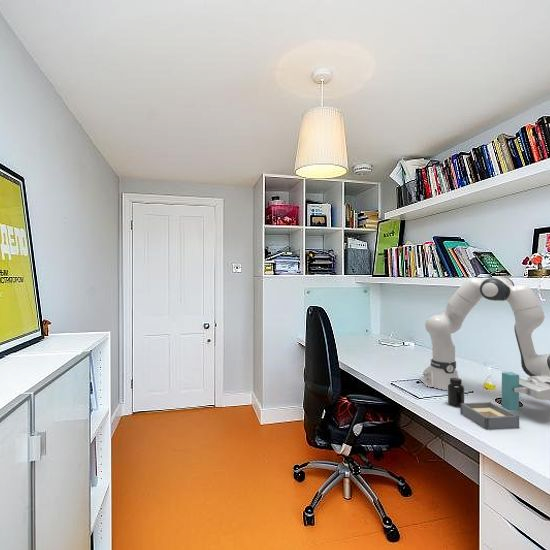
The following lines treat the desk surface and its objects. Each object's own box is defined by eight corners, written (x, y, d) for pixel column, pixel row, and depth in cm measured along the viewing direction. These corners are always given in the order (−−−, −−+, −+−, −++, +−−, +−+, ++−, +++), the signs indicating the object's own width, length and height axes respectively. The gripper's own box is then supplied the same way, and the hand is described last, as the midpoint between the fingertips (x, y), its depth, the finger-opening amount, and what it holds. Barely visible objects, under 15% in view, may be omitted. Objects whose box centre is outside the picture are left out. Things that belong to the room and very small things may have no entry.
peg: (501, 406, 154) (501, 372, 154) (510, 406, 155) (511, 372, 155) (509, 410, 150) (509, 375, 150) (518, 410, 151) (519, 374, 150)
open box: (460, 413, 154) (460, 403, 154) (490, 412, 155) (490, 402, 155) (486, 429, 138) (486, 418, 138) (519, 427, 140) (519, 416, 140)
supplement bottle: (459, 402, 168) (459, 376, 168) (467, 407, 161) (467, 381, 161) (444, 402, 168) (445, 376, 168) (452, 407, 161) (452, 381, 161)
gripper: (518, 372, 164) (491, 373, 163) (558, 386, 144) (527, 387, 142) (518, 386, 164) (491, 386, 163) (558, 402, 144) (527, 403, 142)
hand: (508, 387), depth 152 cm, fingers closed on peg, 4 cm apart
